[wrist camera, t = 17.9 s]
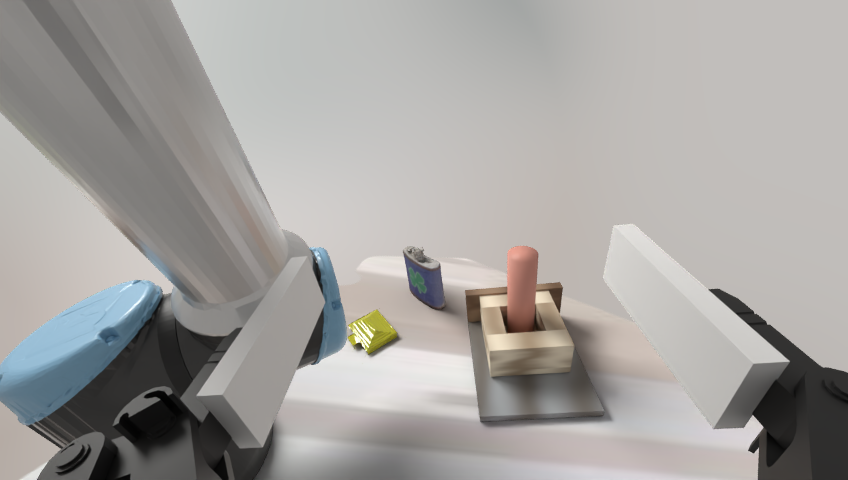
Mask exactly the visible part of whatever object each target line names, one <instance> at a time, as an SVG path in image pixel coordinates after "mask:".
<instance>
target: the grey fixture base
mask: <svg viewBox="0 0 848 480" xmlns="http://www.w3.org/2000/svg"><path fill="white" fill-rule="evenodd" d="M562 289H563V287H562V285H561V283H560V282H558V283H546V284H536V291H547V290H549V293H550V295H551V297H552V299H553V301H554V303H555V305H556V307H557V310H558V312H559V314H560V307H561V298H562ZM465 294H466V305H467V317H468V326H469V334H470V342H471V350H472V359H473V367H474V375H475V383H476V391H477V399H478V407H479V415H480V421H501V420H523V419H545V418H567V417H588V416H603V414H604V409H603V407H602V404H601V402H600V400H599V398H598V396H597V394H596V392H595V390H594V387H593V385H592V383H591V381H590V379H589V377H588V375H587V373H586V370H585V368H584V366H583V364H582V362H581V360H580V358H579V356H578V353H577V351H576V349H575V347H574V351H573V357H572V364H571V370H570V372H563V373H546V374H529V375H512V376H495V377H491V376H490V370H489V365H488V359H487V353H486V347H485V341H484V336H483V330H482V324H481V314H480V296H486V295H498V294H507V287H499V288H487V289H476V290H465Z"/></svg>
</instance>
